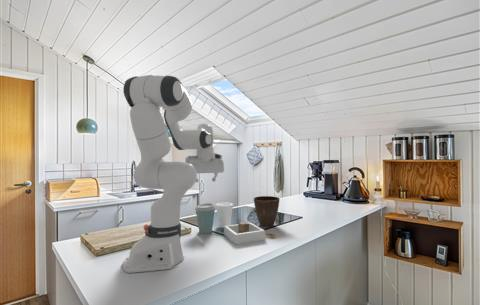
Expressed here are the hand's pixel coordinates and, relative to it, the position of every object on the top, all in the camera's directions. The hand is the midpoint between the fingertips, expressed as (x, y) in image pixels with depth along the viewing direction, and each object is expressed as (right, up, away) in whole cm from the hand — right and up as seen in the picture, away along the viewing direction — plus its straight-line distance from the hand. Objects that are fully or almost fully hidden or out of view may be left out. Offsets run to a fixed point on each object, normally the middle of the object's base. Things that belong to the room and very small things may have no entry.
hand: (205, 181), depth 136 cm
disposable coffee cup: (0, -27, 0) cm, 27 cm away
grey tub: (+20, -27, -9) cm, 35 cm away
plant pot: (+34, -27, +13) cm, 45 cm away
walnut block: (+20, -26, -9) cm, 34 cm away
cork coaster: (+34, -27, -7) cm, 44 cm away
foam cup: (+9, -27, +11) cm, 31 cm away
